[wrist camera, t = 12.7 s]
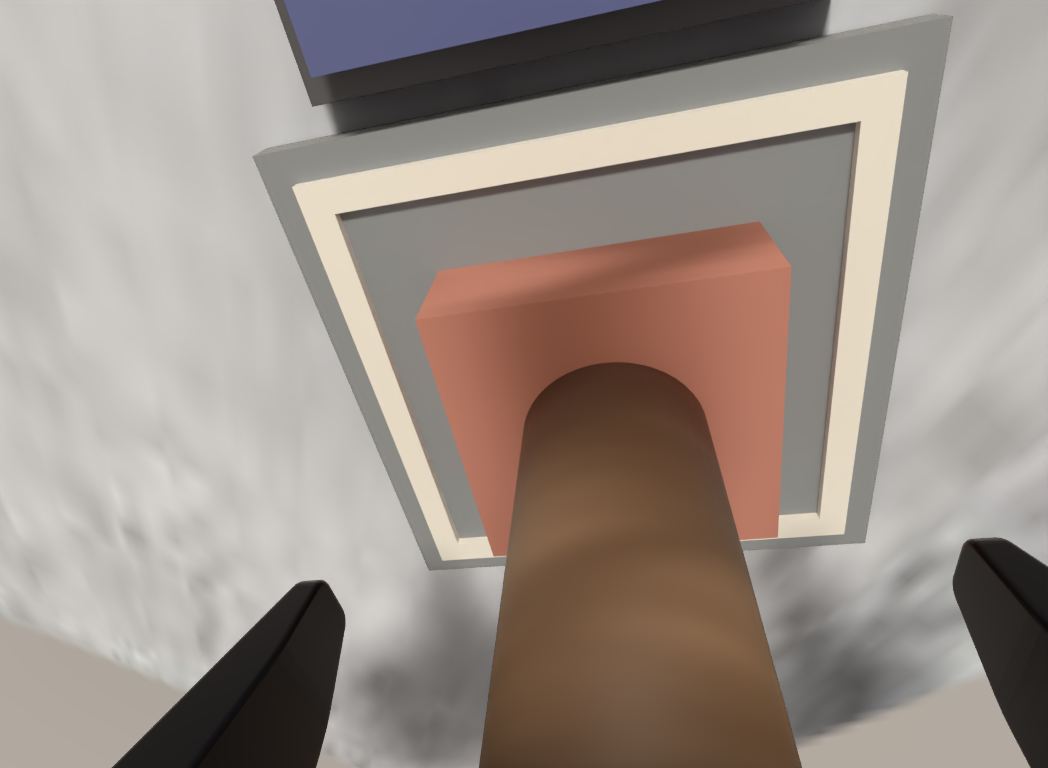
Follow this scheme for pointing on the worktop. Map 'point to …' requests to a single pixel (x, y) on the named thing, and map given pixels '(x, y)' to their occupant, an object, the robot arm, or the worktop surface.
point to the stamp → (624, 493)
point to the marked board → (634, 214)
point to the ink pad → (467, 35)
